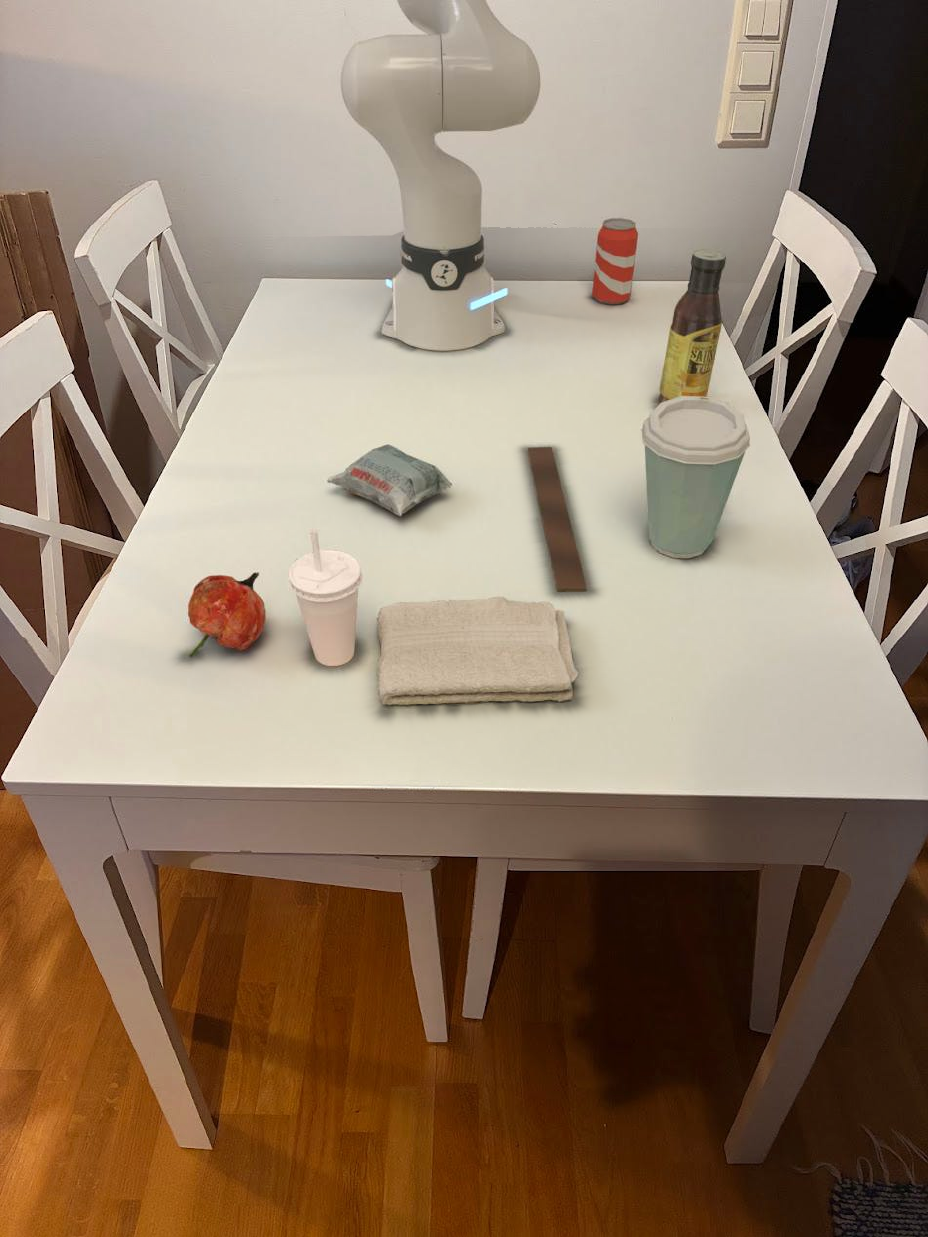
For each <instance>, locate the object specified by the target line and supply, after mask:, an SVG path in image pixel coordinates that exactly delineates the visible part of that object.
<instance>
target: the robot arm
mask: <svg viewBox="0 0 928 1237" xmlns="http://www.w3.org/2000/svg"><path fill="white" fill-rule="evenodd" d="M396 1H397V3H398V6H399V8H400V10H401V11H402V13H403V14H404V16H405V17H406V19H407V20H408V21H409V22H410V23H411V25H413V26H414V27H415V28H416V29H418V30H420V31H421V32H423V33H425V34H386V35H382V36H381V35H380V36H377V37H373V38H369V39H365V40H361V41H357V42H355V43H354V44H353V45H352V46H351V47H350V49H349V51H348V52H347V54H346V56H345V58H344V61H343V63H342V68H341V72H340V92H341V96H342V99H343V103H344V105H345V108H346V110H347V111H348V113H349V115H350V117H352V119H353V121H354V122H355V123H357V125H358V126H359V127H361V128H362V129H364V130H365V131H367V132H368V134H370V135H371V136H372V137H373V138H374V139H375V140H376V141H377V142H378V143H379V145H380V147H382V149H383V150H384V152H385V153H386V155H387V156H388V158H389V160H390V161H391V163H392V165H393V168H394V171H395V173H396V176H397V180H398V185H399V191H400V199H401V208H402V220H403V222H402V223H403V235H402V236H401V239H400V241H401V242H400V244H401V245H400V255H401V264H402V267H401V270H399V271H398V273H396V275H395V276H393V277H392V278H391V280H390V279H388V278H387V279H385V285H386V286H387V287H389V288H390V289H391V292H392V302H391V308H390V309H389V312H388V314H387V316H386V318H385V319H384V322H383V324H382V325H381V334H382V335H383V336H385V337H389V338H394V339H397V340H399V341H400V342H403V343H404V344H406V345H409V346H411V347H414V348H418V349H422V350H427V351H428V350H429V351H440V352H441V351H457V350H464V349H469V348H472V347H475V346H478V345H480V344H482V343H484V342H486V341H487V340H488V339H490V338H491V337H494V336H498V335H501V334H504V333H505V332H506V325H505V323H504V321H503V320H502V318H501V317H500V315H499V314H498V313H497V312H496V310H495V309H494V308H495V306H494V304H495V303H494V301H497V300H499V299H500V298H503V297H506V296H508V288H506V287H505V288H503V289H501V290H498V291H496V292H494V278H493V277H492V276H491V274H490V273H489V271H487V270H486V269H485V267H484V263H485V250H486V249H485V248H486V247H485V239H484V238H485V237H484V236H483V234H482V197H483V196H482V195H483V193H482V191H483V188H482V183H481V181H480V178H479V176H478V174H477V173H476V171H475V170H474V169H473V168H472V167H470V165H468V164H467V163H466V162H464V161H462V160H460V159H458V158H457V157H454V156H453V155H450V154H449V153H447V152H445V151H444V150H443V149H442V148H441V147H440V146H439V145H438V143H437V140H436V136H437V134H439V133H442V132H444V133H445V132H493V131H498V130H502V129H507V128H510V127H515V126H518V125H523V124H524V123H525V122H526V121H527V120H528V118H529V117H530V115H532V112H533V111H534V110H535V107H536V105H537V102H538V100H539V96H540V92H541V72H540V66H539V63H538V60H537V58H536V55H535V53H534V52H533V50H532V49H531V47H530V46H529V44H528V43H527V42H526V41H524V40H523V39H521V38H519V37H518V36H516V35H515V34H514V33H513V32H511V31H509V30H508V29H507V28H506V27H505V26H504V24H502V23H501V21H499V19H498V18H497V17H496V15H495V14H494V12H493V11H492V9H491V8H490V6H489V4H488V2H487V0H396Z"/></svg>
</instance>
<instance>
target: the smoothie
mask: <svg viewBox="0 0 928 1237" xmlns="http://www.w3.org/2000/svg"><path fill="white" fill-rule="evenodd" d="M309 532H310V538H311V547H312V552H309V553H306V554H304V555H302V556H301V557H299V558H297V559H296V560H295V561H294V562H293V563H292V565H290V567H289V570H288V583H289V584H288V585H289V588H290V590H291V591H292V592H293V594H294V595H295V597H296V600H297V604H298V606H299V610H300V612H301V616H302V619H303V623H304V625H305V628H306V632H307V634H308V638H309V642H310V645H311V648H312V652H313V654H314V658H315V660H316V661H317V662H318V663H319V664H321V665H323V666H327V667H338V666H339V667H340V666H342V665H345V664H347V663H348V662H350V661H351V660H352V659H353V657H354V655H355V650H356V649H355V648H356V647H355V646H356V631H357V630H356V629H357V618H358V617H357V615H358V603H359V602H358V601H359V588H360V586H361V584H362V582H363V577H364V576H363V572H362V566H361V563H360V562H359V560H358V559H357V558H356V557H355V556H353V555H351V554H350V553H347V552H345V551H342V550H336V549H321V550H320V542H319V535H318V530H317V529H316V528H312V529H310V531H309Z"/></svg>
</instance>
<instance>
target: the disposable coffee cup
mask: <svg viewBox="0 0 928 1237" xmlns="http://www.w3.org/2000/svg"><path fill="white" fill-rule="evenodd" d="M640 431H641V439H642V444H644V458H645V484H646V505H647V507H646V508H647V529H648V540H649V541H650V543H651V544H650V546H652V547H653V549H655V550H656V551H658V553H659V554H661V555H664V556H666V557H671V558H673V559H692V558H695V557H698V556H701V555H703V553H705V551H706V550H707V549H708V548H709V546H710V545H711V544H712V543H713V541H714V537H715V535H716V532H717V529H718V527H719V525H720V521H721V519H722V516H723V513H724V511H725V509H726V505H727V502H728V500H729V497H730V494H731V491H732V489H733V486H734V484H735V481H736V478H737V476H738V473H739V470H740V468H741V465H742V462H743V459H744V456H745V454H746V451H747V450H748V448H749V447H750V446H751V444H750V442H751V441H750V439H751V436H750V433H749V429H748V426H747V423H746V420H745V415H744V414H743V413H742V412H740V411H739V410H738V409H737V408H736V407H734V406H733V405H732V404H731V403H729V402H728V401H724V400H720V399H717V398H713V397H710V396H709V397H708V396H707V397H702V396H680V397H677V398H674V399H671V400H668V401H665V402H662V403H659V404H658V405H657V406H656V407H655V408H653V410H652V411H651V412H650V414H649V415H648V417H647V418H646V419H645V420H644V421H643V423H642V428H641V429H640Z"/></svg>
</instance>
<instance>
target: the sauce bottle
mask: <svg viewBox="0 0 928 1237" xmlns="http://www.w3.org/2000/svg"><path fill="white" fill-rule="evenodd" d="M726 259H727V256H726V255H725V253H723V252H722V251H719V250H715V249H697V250H695V251H694V250H693V252H692V255H691V260H690V266H691V269H690V275H689V280H688V283H687V290H686V291H685V292H684V294H683V295H682V296H681V298H679V300H678V301H677V303H676V304H675V307H674V310H673V315H672V322H671V324H670V328H669V332H668V340H667V344H666V351H665V356H664V362H663V363H664V364H663V367H662V373H661V379H660V384H659V397H658V398H659V399H658V401H659V404H660V403H662V402H665V401H668V400H671V399H674V398H677V397H680V396H702V397H708V393H709V389H710V382H711V378H712V373H713V368H714V364H715V359H716V355H717V350H718V349H717V348H718V344H719V341H720V340H719V339H720V335H721V331H722V326H723V325H722V324H723V318H722V311H721V302H720V295H719V291H720V283H721V278H722V273H723V270H724V269H725V267H726V261H727V260H726Z"/></svg>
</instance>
